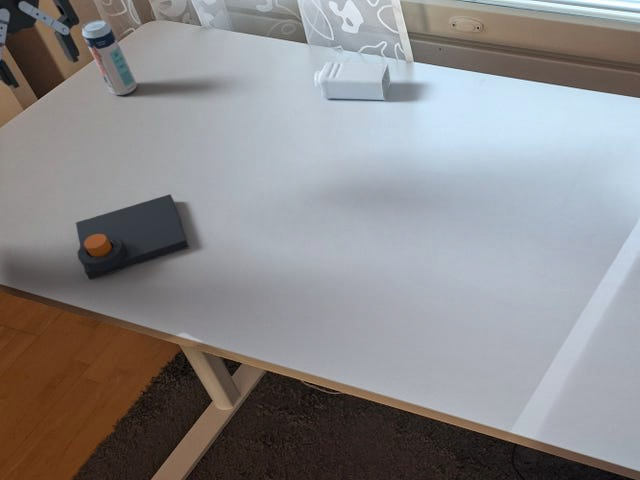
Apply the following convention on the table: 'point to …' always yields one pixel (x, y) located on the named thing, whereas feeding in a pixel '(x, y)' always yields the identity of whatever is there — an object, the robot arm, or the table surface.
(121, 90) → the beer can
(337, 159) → the table surface
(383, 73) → the white bottle
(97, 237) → the button
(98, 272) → the scale
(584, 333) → the table surface
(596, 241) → the table surface
